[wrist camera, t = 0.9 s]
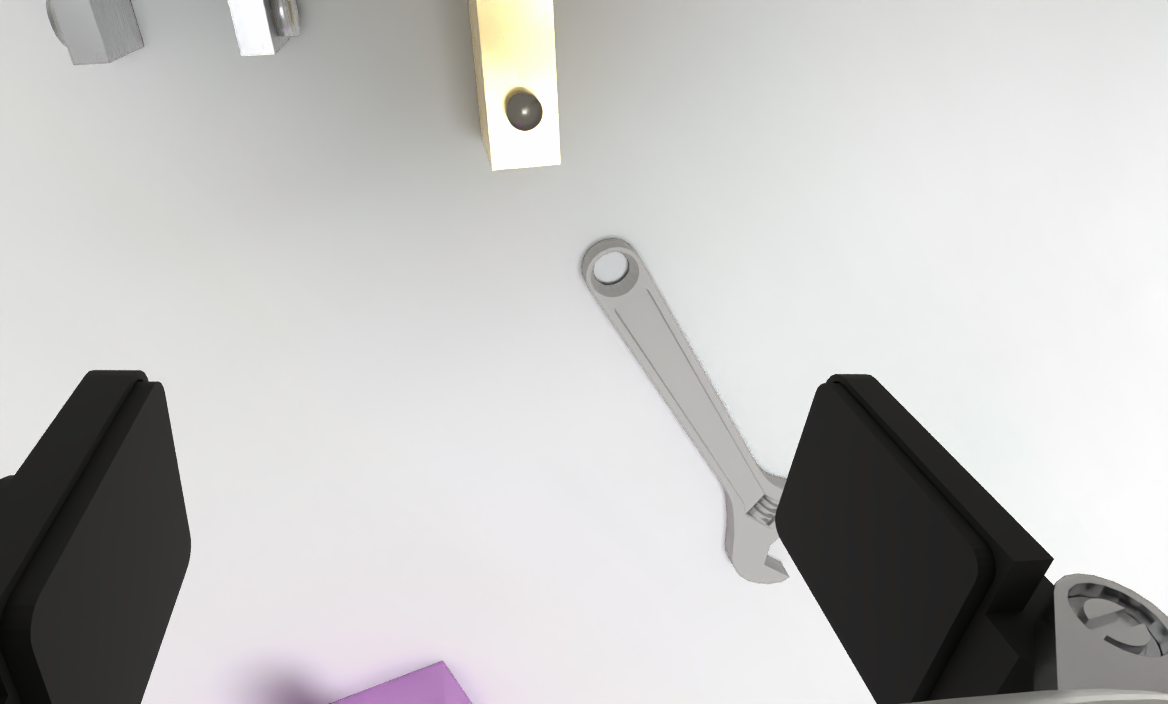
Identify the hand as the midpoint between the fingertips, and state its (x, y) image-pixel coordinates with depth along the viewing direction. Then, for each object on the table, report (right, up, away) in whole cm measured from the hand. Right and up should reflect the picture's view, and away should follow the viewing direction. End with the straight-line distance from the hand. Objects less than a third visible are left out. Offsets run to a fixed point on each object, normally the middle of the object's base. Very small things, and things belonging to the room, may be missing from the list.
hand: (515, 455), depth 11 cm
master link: (-2, +15, +16) cm, 22 cm away
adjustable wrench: (+8, -2, +29) cm, 30 cm away
